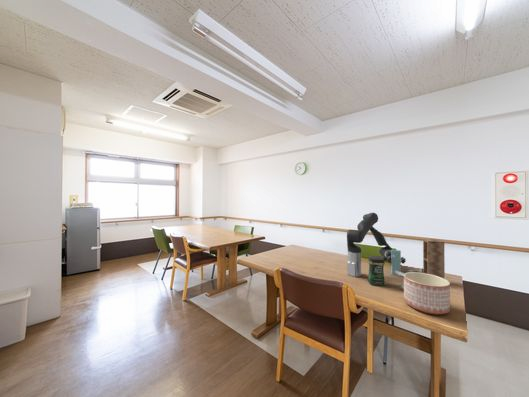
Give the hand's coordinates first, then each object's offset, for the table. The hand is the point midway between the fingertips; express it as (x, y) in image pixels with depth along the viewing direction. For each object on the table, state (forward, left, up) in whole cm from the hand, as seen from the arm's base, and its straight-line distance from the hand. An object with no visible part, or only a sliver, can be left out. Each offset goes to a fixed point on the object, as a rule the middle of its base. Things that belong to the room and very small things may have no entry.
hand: (396, 261), depth 155 cm
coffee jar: (-27, +2, -10) cm, 29 cm away
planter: (-36, -28, -10) cm, 47 cm away
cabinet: (+8, -13, -10) cm, 19 cm away
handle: (-18, -19, -11) cm, 29 cm away
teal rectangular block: (+1, +1, -10) cm, 10 cm away
